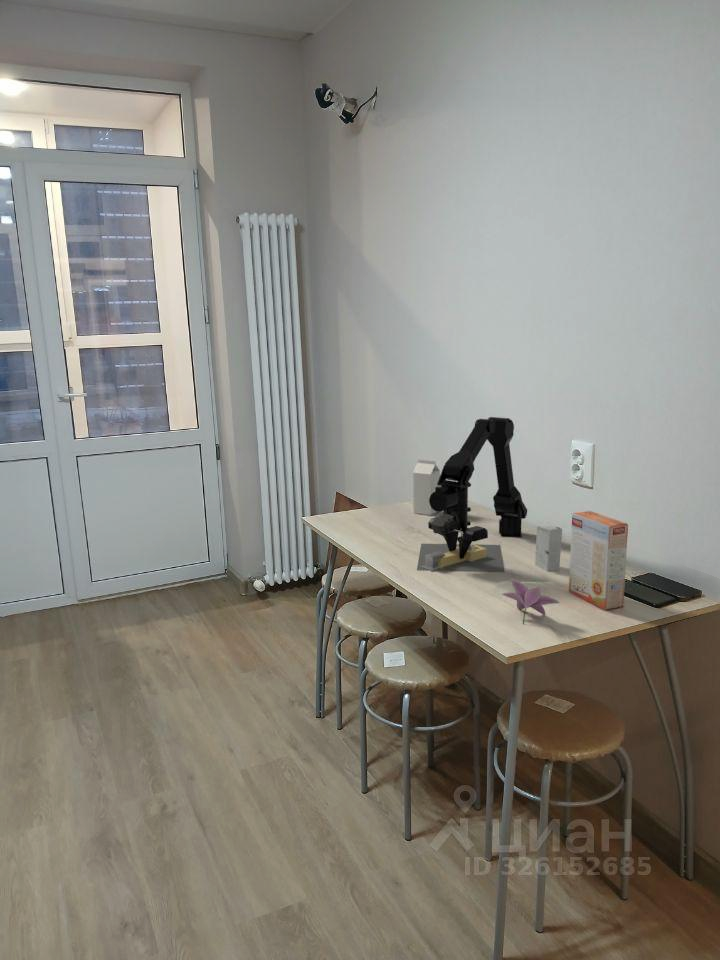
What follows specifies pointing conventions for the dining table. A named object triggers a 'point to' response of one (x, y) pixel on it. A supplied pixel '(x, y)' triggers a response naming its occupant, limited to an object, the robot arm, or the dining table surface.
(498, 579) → the dining table surface
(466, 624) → the dining table surface
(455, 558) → the link
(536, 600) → the lily
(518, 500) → the robot arm
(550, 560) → the skincare box
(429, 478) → the milk carton
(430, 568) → the keeper
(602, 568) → the cracker box
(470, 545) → the cylinder
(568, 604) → the dining table surface
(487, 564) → the mat
